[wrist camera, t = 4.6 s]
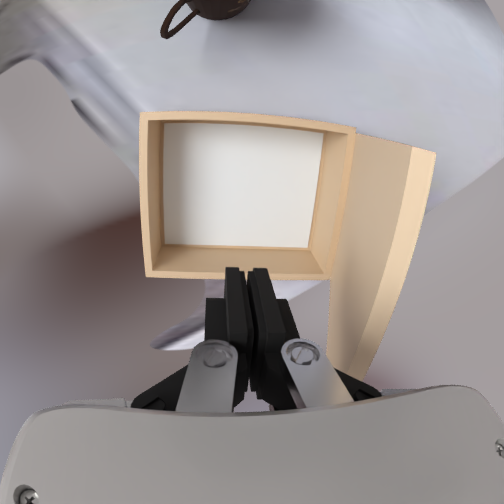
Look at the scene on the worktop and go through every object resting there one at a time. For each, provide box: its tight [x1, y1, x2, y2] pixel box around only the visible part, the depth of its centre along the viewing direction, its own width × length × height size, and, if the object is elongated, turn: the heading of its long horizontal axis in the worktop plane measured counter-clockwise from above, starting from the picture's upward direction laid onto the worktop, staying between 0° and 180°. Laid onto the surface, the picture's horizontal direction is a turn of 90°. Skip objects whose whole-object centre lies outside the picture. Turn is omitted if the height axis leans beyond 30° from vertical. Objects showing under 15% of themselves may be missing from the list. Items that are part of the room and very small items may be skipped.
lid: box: [326, 133, 436, 381], centre depth 18 cm, size 14×18×1 cm
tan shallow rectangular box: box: [139, 111, 356, 280], centre depth 28 cm, size 15×18×6 cm
